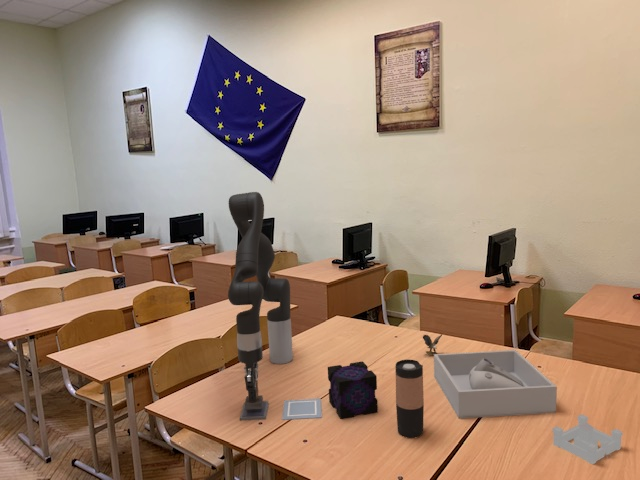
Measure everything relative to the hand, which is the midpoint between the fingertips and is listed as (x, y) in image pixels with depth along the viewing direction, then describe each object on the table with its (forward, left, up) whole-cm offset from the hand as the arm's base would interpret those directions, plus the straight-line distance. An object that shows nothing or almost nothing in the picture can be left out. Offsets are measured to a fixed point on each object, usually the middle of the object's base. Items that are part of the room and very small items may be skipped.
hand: (253, 397), depth 153 cm
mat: (0, +15, -5) cm, 16 cm away
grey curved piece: (-4, +77, -5) cm, 78 cm away
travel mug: (+16, +46, -5) cm, 49 cm away
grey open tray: (-4, +76, -5) cm, 76 cm away
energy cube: (0, +31, -5) cm, 32 cm away
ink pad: (0, 0, -5) cm, 5 cm away
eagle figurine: (-39, +66, -5) cm, 77 cm away
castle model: (+29, +90, -6) cm, 95 cm away
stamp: (0, 0, -3) cm, 3 cm away
